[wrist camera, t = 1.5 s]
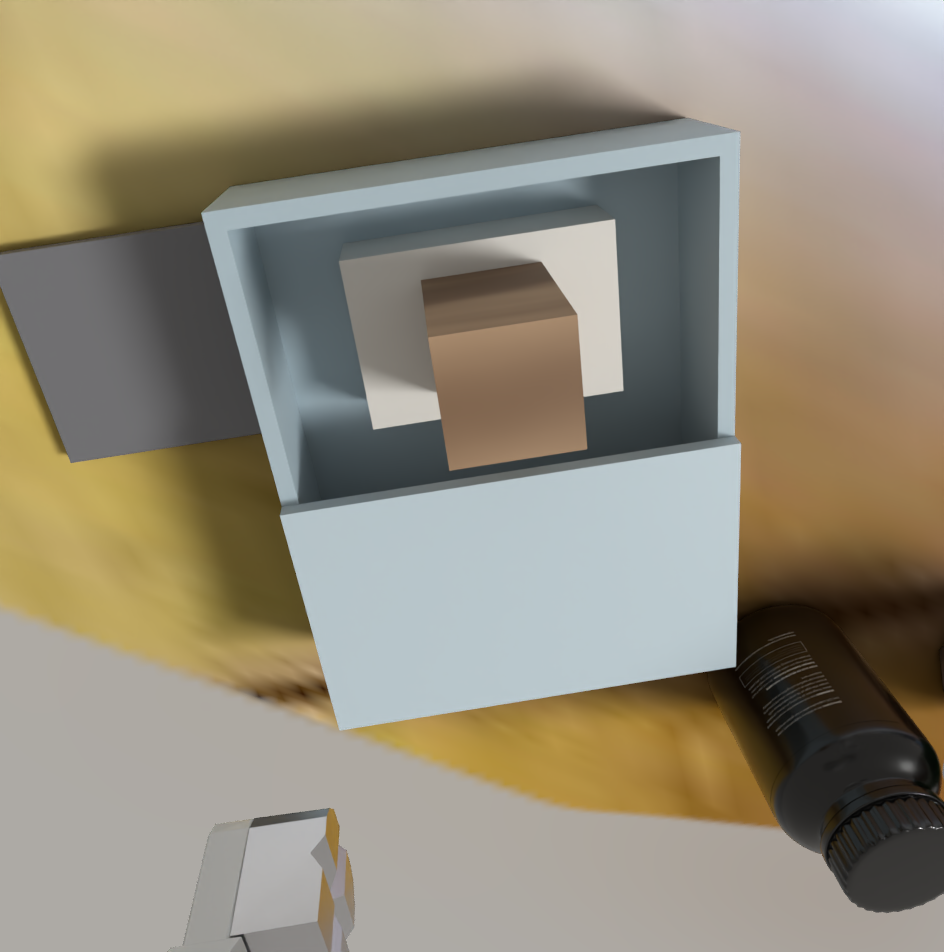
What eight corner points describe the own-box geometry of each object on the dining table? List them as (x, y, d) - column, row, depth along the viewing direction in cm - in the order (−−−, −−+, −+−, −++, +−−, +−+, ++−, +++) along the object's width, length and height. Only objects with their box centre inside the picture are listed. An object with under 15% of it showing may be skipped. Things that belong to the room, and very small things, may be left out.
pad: (-4, 252, 29) (-12, 256, 29) (223, 218, 29) (220, 221, 29) (76, 456, 33) (70, 462, 32) (277, 424, 33) (276, 431, 33)
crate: (230, 186, 29) (196, 216, 24) (687, 117, 29) (747, 133, 24) (346, 641, 38) (339, 730, 33) (691, 586, 38) (735, 666, 33)
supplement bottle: (698, 715, 42) (801, 942, 32) (709, 605, 39) (828, 816, 28) (830, 702, 43) (976, 921, 32) (852, 592, 39) (1022, 795, 29)
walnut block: (420, 280, 27) (428, 337, 22) (541, 261, 27) (577, 314, 22) (439, 392, 29) (449, 470, 24) (552, 375, 29) (587, 449, 24)
